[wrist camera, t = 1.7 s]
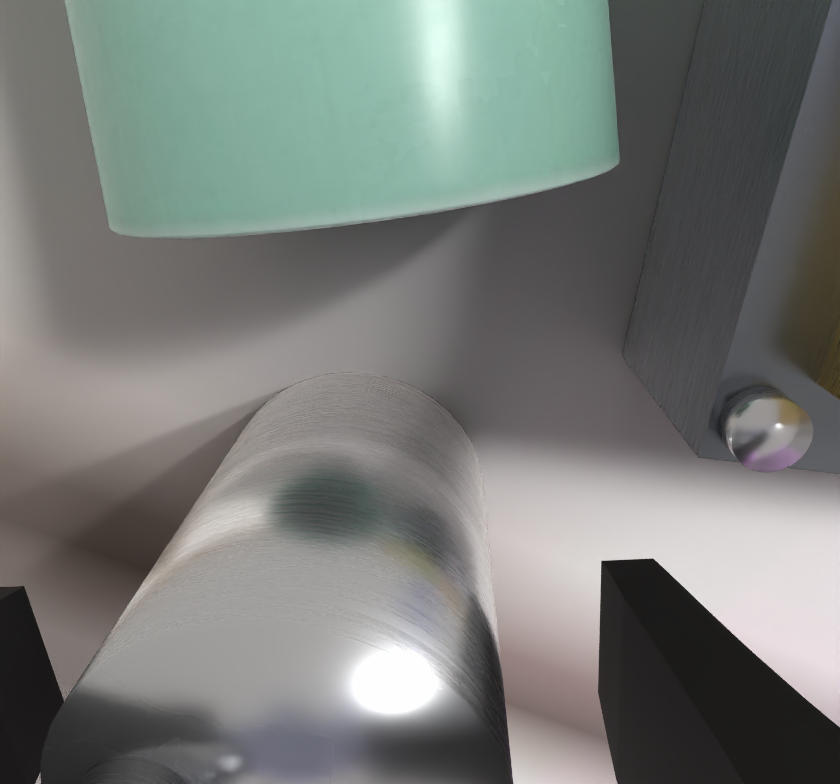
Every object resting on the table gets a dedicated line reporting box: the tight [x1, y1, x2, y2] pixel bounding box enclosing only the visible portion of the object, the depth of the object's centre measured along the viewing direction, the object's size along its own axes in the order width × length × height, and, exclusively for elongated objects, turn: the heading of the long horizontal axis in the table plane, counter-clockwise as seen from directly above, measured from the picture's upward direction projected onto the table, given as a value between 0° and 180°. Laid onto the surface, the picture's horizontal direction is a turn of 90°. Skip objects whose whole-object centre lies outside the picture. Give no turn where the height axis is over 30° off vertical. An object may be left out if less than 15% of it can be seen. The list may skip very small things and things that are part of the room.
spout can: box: [40, 372, 513, 784], centre depth 8 cm, size 4×4×8 cm
